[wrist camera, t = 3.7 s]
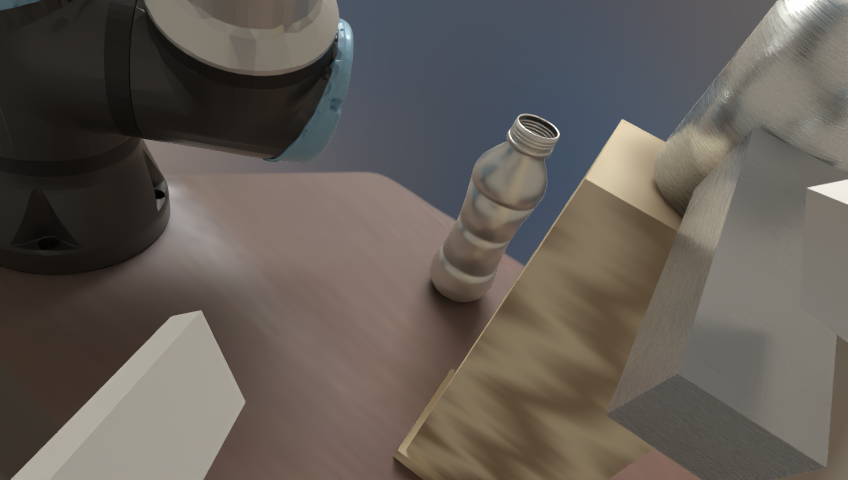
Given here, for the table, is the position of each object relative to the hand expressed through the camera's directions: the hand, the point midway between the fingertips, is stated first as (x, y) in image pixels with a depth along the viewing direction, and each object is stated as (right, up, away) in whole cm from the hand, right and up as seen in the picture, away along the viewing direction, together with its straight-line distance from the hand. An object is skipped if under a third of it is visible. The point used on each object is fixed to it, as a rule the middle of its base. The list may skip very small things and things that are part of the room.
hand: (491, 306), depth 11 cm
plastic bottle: (+2, -4, +40) cm, 41 cm away
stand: (+3, -16, +28) cm, 32 cm away
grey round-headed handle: (+8, 0, +7) cm, 11 cm away
